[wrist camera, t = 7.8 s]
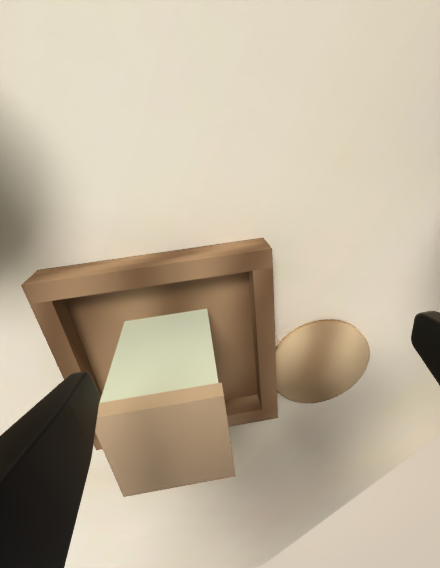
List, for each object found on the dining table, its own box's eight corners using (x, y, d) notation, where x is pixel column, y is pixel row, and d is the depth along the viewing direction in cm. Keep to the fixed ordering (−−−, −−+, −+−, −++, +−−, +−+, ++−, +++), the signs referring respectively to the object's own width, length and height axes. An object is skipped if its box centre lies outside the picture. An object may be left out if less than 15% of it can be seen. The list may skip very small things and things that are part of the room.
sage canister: (209, 306, 20) (223, 395, 13) (218, 372, 23) (235, 475, 16) (121, 319, 20) (89, 418, 13) (141, 385, 22) (123, 496, 15)
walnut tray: (263, 237, 19) (272, 248, 17) (270, 397, 25) (277, 417, 23) (37, 270, 18) (21, 285, 16) (102, 426, 25) (96, 450, 23)
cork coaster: (357, 304, 22) (361, 307, 22) (372, 378, 26) (375, 382, 25) (256, 343, 23) (257, 347, 22) (284, 410, 26) (286, 415, 26)
